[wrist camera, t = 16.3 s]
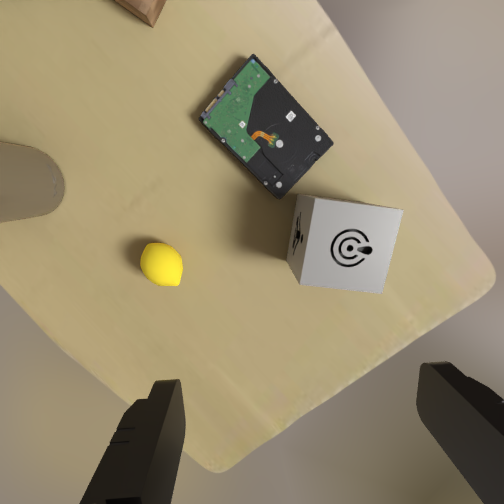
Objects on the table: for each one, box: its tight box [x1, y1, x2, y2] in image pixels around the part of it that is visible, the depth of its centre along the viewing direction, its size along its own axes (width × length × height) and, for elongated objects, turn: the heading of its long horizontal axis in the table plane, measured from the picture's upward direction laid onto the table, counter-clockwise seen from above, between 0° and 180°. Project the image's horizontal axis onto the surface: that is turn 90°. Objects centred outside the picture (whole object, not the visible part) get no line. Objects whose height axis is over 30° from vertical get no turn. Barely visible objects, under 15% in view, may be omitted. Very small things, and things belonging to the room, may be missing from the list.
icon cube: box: [286, 194, 403, 294], centre depth 37 cm, size 10×10×10 cm
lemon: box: [140, 243, 183, 286], centre depth 40 cm, size 7×5×5 cm
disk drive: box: [199, 54, 334, 199], centre depth 38 cm, size 10×3×15 cm
